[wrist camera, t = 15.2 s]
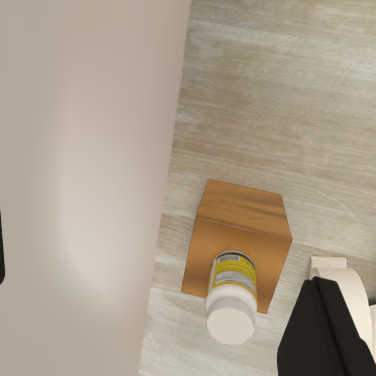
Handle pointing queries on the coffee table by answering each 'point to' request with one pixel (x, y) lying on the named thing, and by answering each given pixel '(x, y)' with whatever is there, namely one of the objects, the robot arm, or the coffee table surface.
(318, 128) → the coffee table surface
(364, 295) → the headphone stand
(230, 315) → the supplement bottle
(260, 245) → the block
